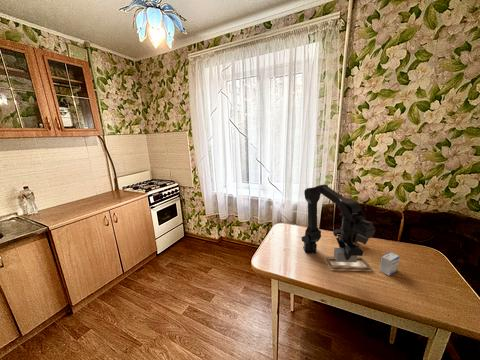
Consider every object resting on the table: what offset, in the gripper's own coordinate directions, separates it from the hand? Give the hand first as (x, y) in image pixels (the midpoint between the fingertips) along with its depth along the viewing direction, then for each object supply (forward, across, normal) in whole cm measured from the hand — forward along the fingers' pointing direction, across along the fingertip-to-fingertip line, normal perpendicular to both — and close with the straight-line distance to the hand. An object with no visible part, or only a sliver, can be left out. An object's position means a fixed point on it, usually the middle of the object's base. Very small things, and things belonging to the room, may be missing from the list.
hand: (345, 257), depth 95 cm
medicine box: (+12, +6, -24) cm, 28 cm away
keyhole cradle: (+11, +9, -6) cm, 16 cm away
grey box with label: (+1, 0, 0) cm, 1 cm away
